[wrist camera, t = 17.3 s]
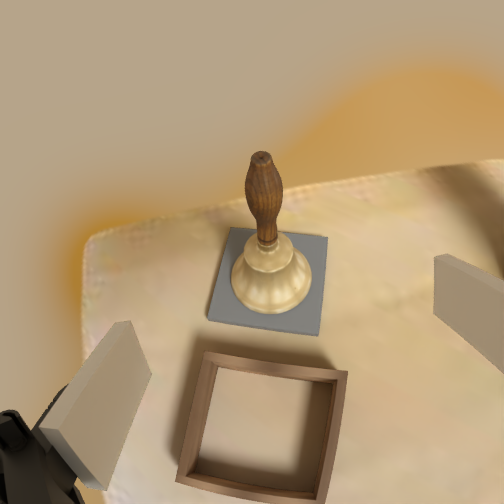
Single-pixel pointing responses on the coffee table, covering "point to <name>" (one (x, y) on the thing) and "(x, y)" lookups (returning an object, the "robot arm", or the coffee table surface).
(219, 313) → the grey rubber pad
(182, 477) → the brown wooden square frame
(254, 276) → the hand bell
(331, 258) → the coffee table surface
